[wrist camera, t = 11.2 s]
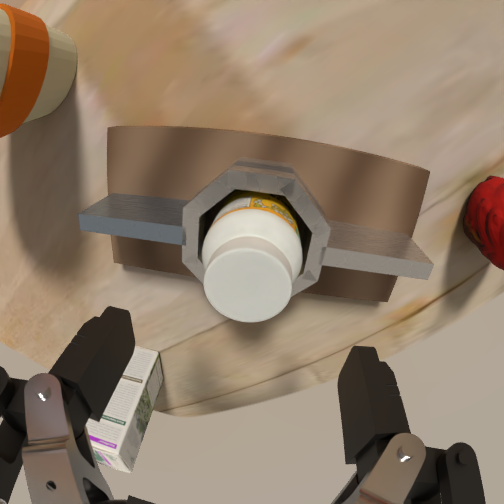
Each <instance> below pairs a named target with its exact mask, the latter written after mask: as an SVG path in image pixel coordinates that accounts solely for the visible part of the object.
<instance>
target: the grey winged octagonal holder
mask: <svg viewBox="0 0 504 504" xmlns="http://www.w3.org/2000/svg"><path fill="white" fill-rule="evenodd" d="M234 189H240V190H248V191H256V192H263V193H270V194H277V195H284V196H285V197H286V198H287V199H288V201H289V202H290V203H291V205H292V206H293V207H294V209H295V210H296V211H297V213H298V214H299V215H300V217H301V218H302V219H303V221H302V226H301V231H300V241H301V247H302V266H301V270H300V272H299V275H298V277H297V279H296V280H295V282H294V283H293V284H292V293H291V297H292V296H294V295H295V294H297V293H299V292H301V291H302V290H304V289H306V288H307V287H309V286H311V285H312V284H314V283H316V282H317V281H318V278H319V275H320V271H321V267H322V265H325V266H332V267H339V268H346V269H353V270H360V271H368V272H375V273H382V274H389V275H396V276H403V277H411V278H418V279H425V280H428V278H429V275H430V273H431V270H432V268H433V265H434V264H433V263H432V262H431V260H430V259H429V258H428V257H427V256H426V255H425V253H424V252H423V251H422V250H421V249H420V248H419V247H418V245H417V244H416V243H415V242H414V241H413V240H412V239H411V238H410V237H409V236H408V234H403V233H398V232H393V231H388V230H383V229H377V228H372V227H367V226H361V225H356V224H350V223H344V222H338V221H332V220H327V219H326V216H325V214H324V212H323V209H322V207H321V205H320V203H319V201H318V200H317V199H316V197H315V196H314V194H313V193H312V192H311V190H310V189H309V187H308V186H307V185H306V183H305V182H304V181H303V179H302V178H301V177H300V175H299V174H298V172H297V171H296V170H295V168H294V167H293V166H292V164H288V163H281V162H274V161H267V160H260V159H252V158H244V157H240V158H239V159H238V160H236V161H235V162H234V163H233V164H231V165H230V166H229V167H228V168H226V169H225V170H224V171H223V172H221V173H220V174H219V175H218V176H216V177H215V178H214V179H213V180H211V181H210V182H209V183H208V184H206V185H205V186H204V187H203V188H202V189H201V190H200V191H199V192H198V193H197V194H196V195H195V196H194V197H193V198H192V199H191V200H181V199H172V198H162V197H152V196H142V195H131V194H119V193H112V194H110V195H109V196H107V197H105V198H103V199H102V200H100V201H98V202H97V203H95V204H93V205H92V206H90V207H89V208H87V209H85V210H84V211H82V212H80V213H79V214H78V217H79V226H80V230H82V231H89V232H96V233H103V234H110V235H116V236H123V237H130V238H137V239H144V240H150V241H157V242H164V243H171V244H178V245H182V262H183V263H184V264H185V265H186V267H187V268H188V269H189V270H190V271H191V272H192V273H193V274H194V275H195V276H196V277H197V278H198V279H199V280H200V281H201V282H202V283H203V285H204V275H205V272H206V271H205V269H204V265H203V261H202V248H203V243H204V240H205V237H206V235H207V233H208V231H209V229H210V227H211V225H212V224H213V222H214V220H215V206H216V203H218V202H219V201H220V200H221V199H223V198H224V197H225V196H226V195H228V194H229V193H230V192H232V191H233V190H234Z"/></svg>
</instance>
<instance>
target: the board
mask: <svg viewBox="0 0 504 504" xmlns="http://www.w3.org/2000/svg"><path fill="white" fill-rule="evenodd" d="M240 157H244V158H252V159H260V160H267V161H274V162H281V163H288V164H292V166H293V167H294V168H295V170H296V171H297V172H298V174H299V175H300V177H301V178H302V179H303V181H304V182H305V183H306V185H307V186H308V187H309V189H310V190H311V192H312V193H313V194H314V196H315V197H316V199H317V200H318V201H319V203H320V205H321V207H322V209H323V212H324V214H325V216H326V219H327V220H332V221H338V222H344V223H350V224H356V225H361V226H367V227H372V228H377V229H383V230H388V231H393V232H398V233H403V234H408V236H409V237H410V238H412V235H413V232H414V229H415V225H416V222H417V219H418V215H419V212H420V209H421V205H422V201H423V198H424V194H425V190H426V186H427V182H428V178H429V174H430V171H428V170H426V169H423V168H421V167H418V166H414V165H411V164H408V163H404V162H401V161H397V160H393V159H390V158H386V157H382V156H378V155H374V154H370V153H366V152H362V151H357V150H353V149H348V148H344V147H339V146H334V145H329V144H324V143H319V142H313V141H307V140H302V139H296V138H289V137H283V136H276V135H268V134H261V133H252V132H243V131H234V130H223V129H210V128H195V127H173V126H116V127H109V128H108V133H107V180H108V196H109V195H110V194H112V193H119V194H131V195H142V196H152V197H162V198H172V199H181V200H191V199H192V198H193V197H194V196H195V195H196V194H197V193H198V192H199V191H200V190H201V189H202V188H203V187H204V186H205V185H206V184H208V183H209V182H210V181H211V180H213V179H214V178H215V177H216V176H218V175H219V174H220V173H221V172H223V171H224V170H225V169H226V168H228V167H229V166H230V165H231V164H233V163H234V162H235V161H236V160H238V159H239V158H240ZM234 190H235V189H234ZM230 193H231V192H230ZM230 193H229V194H230ZM229 194H228V195H226V196H225V197H224V198H223V199H221V200H220V201H219V202H218V203H216V206H215V218H216V216H217V215H218V213H219V211H220V209H221V207H222V205H223V203H224V202H225V200H226V199H227V197H228V196H229ZM295 214H296V220H297V225H298V231H299V236H300V231H301V226H302V221H303V219H302V218H301V217H300V215H299V214H298V213H297V211H296V210H295ZM111 241H112V251H113V259H114V263H119V264H125V265H130V266H136V267H141V268H147V269H153V270H158V271H164V272H170V273H176V274H182V275H188V276H194V277H196V276H195V275H194V274H193V273H192V272H191V271H190V270H189V269H188V268H187V267H186V265H185V264H184V263H183V262H182V245H178V244H171V243H164V242H157V241H150V240H144V239H137V238H130V237H123V236H116V235H111ZM397 277H398V276H396V275H389V274H382V273H375V272H368V271H360V270H353V269H346V268H339V267H332V266H325V265H322V267H321V271H320V275H319V278H318V281H317V282H316V283H314V284H312V285H311V286H309V287H307V288H306V289H304V290H302V291H301V292H305V293H313V294H321V295H329V296H337V297H346V298H355V299H364V300H373V301H382V302H388V300H389V297H390V295H391V292H392V290H393V287H394V285H395V282H396V280H397Z"/></svg>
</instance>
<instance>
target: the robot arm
mask: <svg viewBox="0 0 504 504" xmlns="http://www.w3.org/2000/svg"><path fill="white" fill-rule="evenodd" d="M134 349H135V337H134V332H133V327H132V322H131V316H130V313H129V311H128V310H124V309H120V308H116V307H112V306H109V307H107V308H106V309H105V311H104V312H103V313H102V315H101V316H100V317H96V316H95V317H93V318H92V319H90V320H89V321H87V322H86V323H84V325H83V326H82V327H81V328H80V330H79V331H78V332H77V335H75V336H74V338H73V339H72V341H71V343H69V345H68V346H67V347H66V349H65V350H64V352H63V353H62V354H61V356H60V357H59V359H58V360H57V361H56V363H55V364H54V366H53V367H52V369H51V370H50V371H49V373H41V374H37V375H35V376H33V377H32V378H30V379H29V380H21V379H15V378H10V377H9V375H8V374H7V372H6V371H5V369H4V368H2V367H0V417H2V418H3V421H2V423H1V425H0V504H8V502H9V499H10V496H11V493H12V490H13V488H14V485H15V482H16V480H17V477H18V475H19V472H20V470H21V467H22V465H24V470H25V475H26V480H27V485H28V489H29V493H30V497H31V501H32V504H154V503H151V502H148V501H145V500H141V499H138V498H135V497H132V496H130V495H129V496H128V500H114V498H113V496H112V493H111V491H110V488H109V486H108V484H107V482H106V481H105V479H104V477H103V476H102V474H101V472H100V469H99V467H98V464H97V461H96V458H95V455H94V451H93V448H92V445H91V441H90V438H89V434H88V430H87V427H86V423H87V421H88V419H89V418H90V419H92V420H95V421H97V422H100V419H101V417H102V415H103V413H104V411H105V409H106V407H107V405H108V403H109V401H110V399H111V397H112V395H113V393H114V391H115V389H116V387H117V385H118V383H119V381H120V379H121V377H122V375H123V373H124V371H125V369H126V367H127V365H128V363H129V361H130V360H131V358H132V356H133V353H134ZM338 395H339V403H340V411H341V420H342V429H343V438H344V450H345V461H346V464H356V466H357V471H356V472H355V473H354V474H353V476H352V477H351V479H350V480H349V481H348V483H347V484H346V485H345V487H344V488H343V489H342V490H341V492H340V493H339V494H338V496H337V497H336V498H335V499H334V500H333V502H332V503H331V504H485V497H484V491H483V486H482V480H481V475H480V471H479V466H478V462H477V458H476V454H475V452H474V450H473V449H472V447H471V446H469V445H468V444H466V443H461V442H460V443H455V444H453V445H452V446H451V447H450V448H449V449H447V450H443V449H437V448H431V447H426V446H425V445H424V443H423V442H422V441H421V440H420V439H419V438H418V437H417V436H415V435H413V434H411V432H410V429H409V425H408V421H407V417H406V413H405V410H404V406H403V403H402V399H401V396H400V392H399V389H398V386H397V382H396V379H395V375H394V372H393V371H392V370H391V369H390V367H389V366H388V365H387V363H386V362H380V361H379V358H378V355H377V351H376V349H375V348H374V347H365V346H353V347H352V349H351V351H350V353H349V355H348V357H347V359H346V362H345V364H344V366H343V368H342V370H341V372H340V374H339V378H338ZM440 493H441V495H440ZM441 501H442V503H441Z"/></svg>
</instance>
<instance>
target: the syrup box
mask: <svg viewBox="0 0 504 504" xmlns="http://www.w3.org/2000/svg"><path fill="white" fill-rule="evenodd" d="M163 380H164V378H163V373H162V368H161V363H160V356H159V352H157V351H153V350H150V349H146V348H142V347H138V346H135V349H134V353H133V356H132V358H131V360H130V361H129V363H128V365H127V367H126V369H125V371H124V373H123V375H122V377H121V379H120V381H119V383H118V385H117V387H116V389H115V391H114V393H113V395H112V397H111V399H110V401H109V403H108V405H107V407H106V409H105V411H104V413H103V415H102V417H101V419H100V422H97V421H95V420H92V419H90V418H89V419H88V421H87V423H86V427H87V430H88V434H89V438H90V441H91V445H92V448H93V451H94V455H95V458H96V461H97V462H98V463H100V464H103V465H105V466H108V467H110V468H113V469H117V470H121V471H125V472H128V473H131V472H132V470H133V467H134V464H135V461H136V458H137V455H138V452H139V449H140V446H141V443H142V440H143V437H144V434H145V431H146V428H147V425H148V422H149V419H150V417H151V413H152V411H153V408H154V405H155V402H156V400H157V397H158V394H159V391H160V388H161V386H162V383H163Z"/></svg>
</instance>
